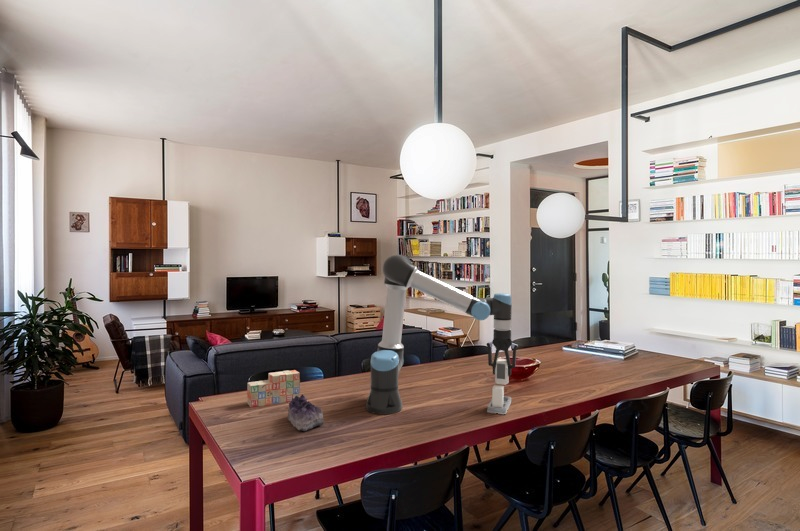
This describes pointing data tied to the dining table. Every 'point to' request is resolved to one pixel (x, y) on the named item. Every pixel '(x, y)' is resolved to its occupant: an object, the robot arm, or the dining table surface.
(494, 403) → the block
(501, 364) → the block
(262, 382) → the stack of blocks
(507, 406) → the rail
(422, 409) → the dining table surface
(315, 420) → the geode
